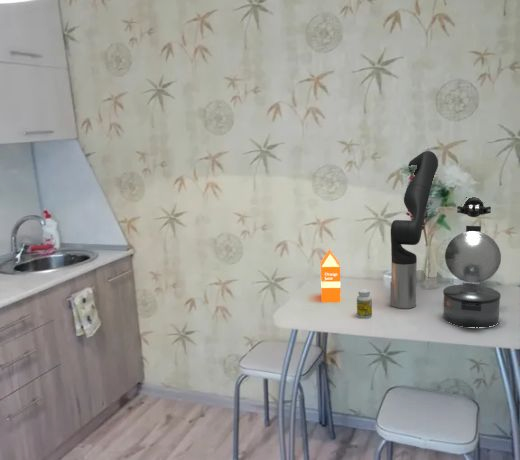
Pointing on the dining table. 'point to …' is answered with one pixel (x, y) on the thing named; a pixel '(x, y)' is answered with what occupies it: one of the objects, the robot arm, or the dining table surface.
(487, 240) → the cooker lid
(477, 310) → the cooker pot
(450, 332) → the dining table surface
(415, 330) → the dining table surface
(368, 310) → the supplement bottle
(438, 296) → the dining table surface
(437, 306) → the dining table surface
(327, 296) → the orange juice
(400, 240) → the robot arm
